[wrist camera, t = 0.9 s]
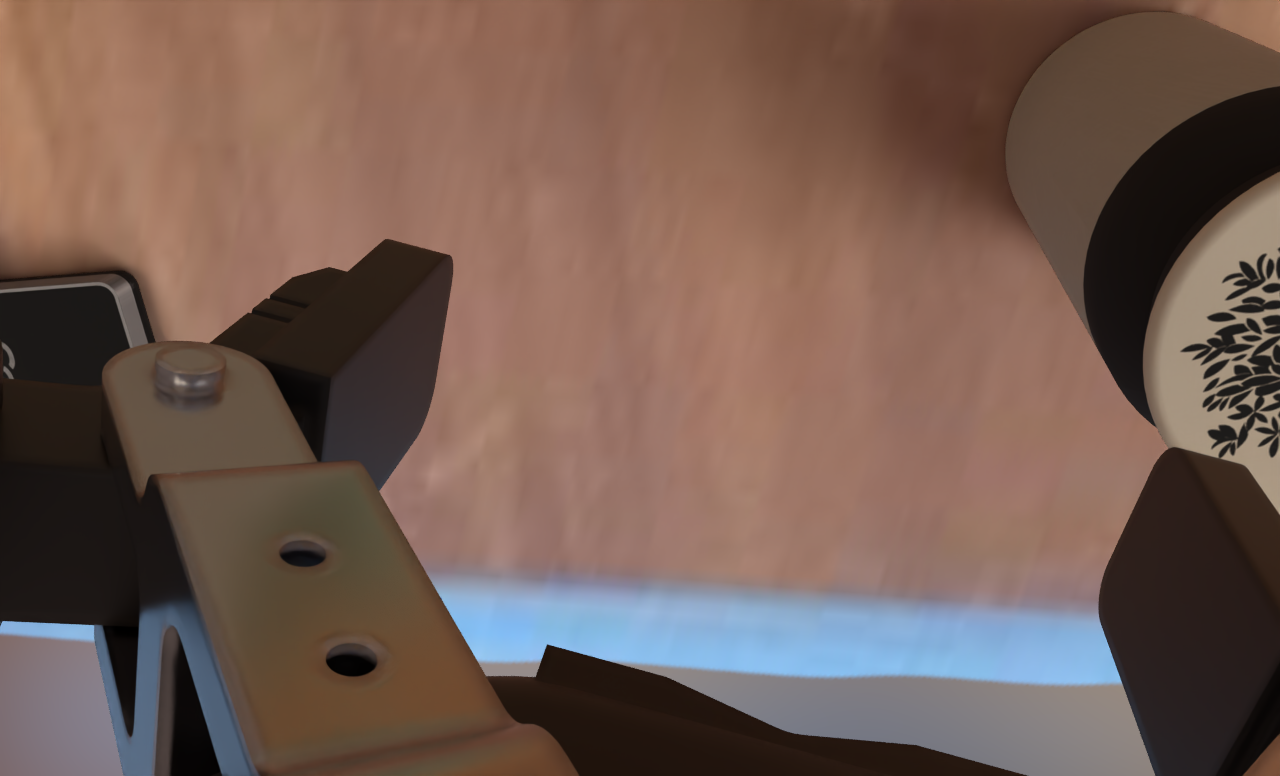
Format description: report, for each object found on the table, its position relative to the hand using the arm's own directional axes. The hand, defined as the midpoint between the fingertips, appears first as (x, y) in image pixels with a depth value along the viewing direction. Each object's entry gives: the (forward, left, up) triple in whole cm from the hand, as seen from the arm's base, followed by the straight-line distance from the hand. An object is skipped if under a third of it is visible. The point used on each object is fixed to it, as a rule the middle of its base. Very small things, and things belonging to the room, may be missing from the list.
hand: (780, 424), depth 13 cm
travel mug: (0, +11, -28) cm, 30 cm away
